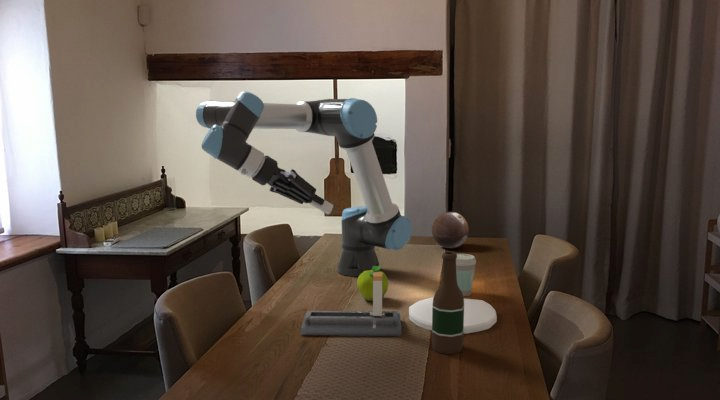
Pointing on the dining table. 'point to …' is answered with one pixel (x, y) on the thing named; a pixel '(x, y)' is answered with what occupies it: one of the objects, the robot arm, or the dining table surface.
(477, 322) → the decorative plate
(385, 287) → the fruit
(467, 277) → the coffee cup
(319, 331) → the fader console
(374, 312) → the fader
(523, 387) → the dining table surface
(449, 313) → the beer bottle
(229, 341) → the dining table surface
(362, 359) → the dining table surface
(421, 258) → the dining table surface
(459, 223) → the wooden sphere
